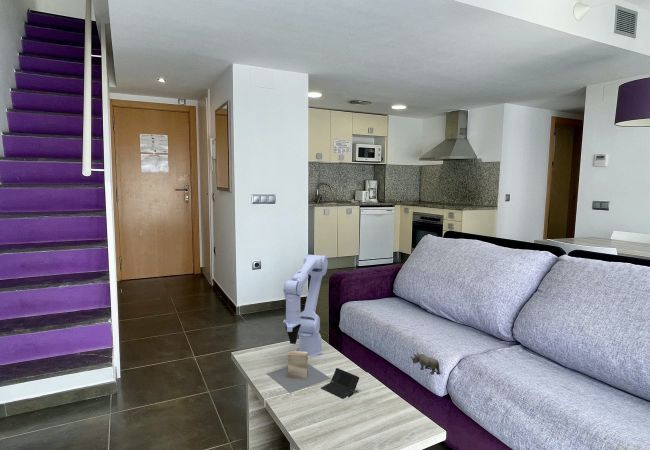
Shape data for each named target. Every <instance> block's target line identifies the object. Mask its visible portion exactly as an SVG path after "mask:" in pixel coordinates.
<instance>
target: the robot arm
mask: <svg viewBox="0 0 650 450" xmlns="http://www.w3.org/2000/svg"><path fill="white" fill-rule="evenodd" d="M328 262H329V260H328V257H327V255H321V254H320V255H319V254H309V253H308V254H305V256H304V257H303V265H302V267H301V269H298V270H296V272H295V273H294V274H293V275H292V277H291V279H288V280H286V281H285V282H284V283H283V288H282V291H283V294H284V299H285V319H283V321H282V323H283V324H285V325H286V326H285V331H286V333H287V336H288V339H289V344H290V345H295V344H296V343H297V340H298V343H299V345H298V347H299V348H298V350H297V351H299V352H308V358H310V357H312V356H316V355H317V356H318V355H321V354H323V351H322V336H321V333H320V328H321V324H320V323H321V318H320V316H319V315H318V314H317V313H316V309H317V305H318V299H319V295H320V290H321V284H322V279H323V277H324V276H325V275H327V274H326V273H327V269H328V264H329V263H328ZM309 276H310V281H309V286H308V291H307V294H306V301H305V305H304V310H303V311H301V295H302V294H303V291H304V287H305V284H306V282H307V281H308V279H309ZM298 337H299V338H298Z"/></svg>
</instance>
